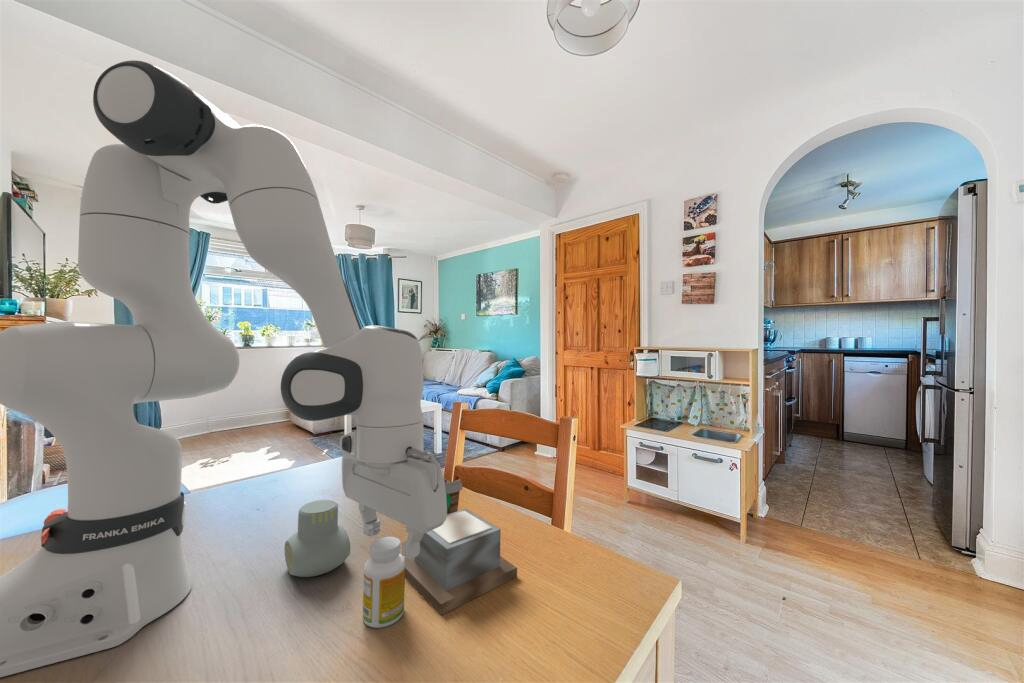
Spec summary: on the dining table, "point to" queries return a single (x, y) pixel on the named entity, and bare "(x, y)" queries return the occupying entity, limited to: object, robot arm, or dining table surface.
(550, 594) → the dining table surface
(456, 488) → the food container
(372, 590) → the supplement bottle
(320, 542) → the air freshener
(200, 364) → the robot arm
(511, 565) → the pedestal
